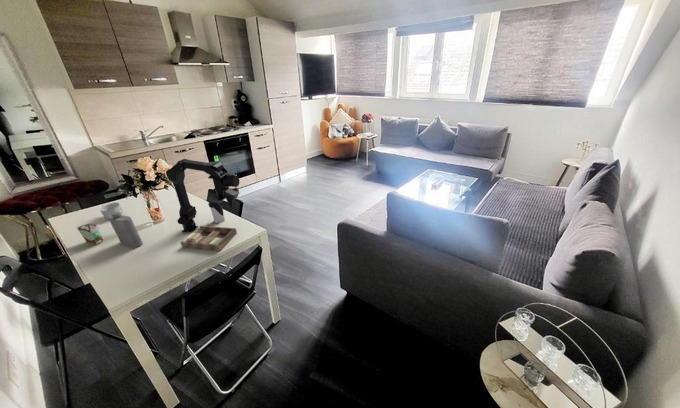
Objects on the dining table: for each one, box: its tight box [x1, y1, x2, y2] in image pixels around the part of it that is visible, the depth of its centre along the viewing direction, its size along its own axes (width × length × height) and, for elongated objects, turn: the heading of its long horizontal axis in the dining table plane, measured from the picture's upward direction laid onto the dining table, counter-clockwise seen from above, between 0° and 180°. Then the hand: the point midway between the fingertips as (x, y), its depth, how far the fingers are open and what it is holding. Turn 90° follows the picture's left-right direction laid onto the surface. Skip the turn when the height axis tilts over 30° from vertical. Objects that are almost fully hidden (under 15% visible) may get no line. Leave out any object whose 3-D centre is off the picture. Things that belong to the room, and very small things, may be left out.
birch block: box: [186, 232, 202, 243], centre depth 145 cm, size 5×5×3 cm
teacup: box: [99, 201, 124, 219], centre depth 176 cm, size 14×11×8 cm
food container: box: [76, 223, 104, 246], centre depth 150 cm, size 12×6×10 cm, turn 71°
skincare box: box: [209, 207, 226, 224], centre depth 165 cm, size 6×4×12 cm
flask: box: [107, 212, 144, 249], centre depth 144 cm, size 15×6×20 cm, turn 66°
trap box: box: [180, 225, 238, 252], centre depth 148 cm, size 23×17×4 cm
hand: (227, 211), depth 148 cm, fingers open, 9 cm apart
